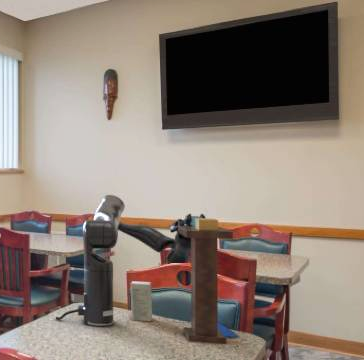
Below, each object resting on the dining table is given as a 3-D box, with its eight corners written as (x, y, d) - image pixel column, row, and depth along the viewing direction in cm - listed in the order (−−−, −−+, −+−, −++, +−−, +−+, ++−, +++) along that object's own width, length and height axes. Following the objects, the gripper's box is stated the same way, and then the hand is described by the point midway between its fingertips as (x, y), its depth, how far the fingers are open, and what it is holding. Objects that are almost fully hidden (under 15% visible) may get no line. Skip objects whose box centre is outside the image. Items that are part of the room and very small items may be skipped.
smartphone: (212, 336, 144) (194, 320, 159) (212, 339, 144) (194, 323, 159) (238, 336, 144) (217, 320, 159) (238, 339, 144) (217, 323, 159)
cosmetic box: (152, 318, 164) (152, 282, 164) (151, 322, 160) (151, 284, 160) (132, 316, 166) (132, 280, 166) (130, 319, 162) (130, 282, 162)
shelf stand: (186, 344, 138) (186, 230, 138) (178, 329, 152) (178, 226, 152) (233, 347, 136) (232, 231, 136) (220, 331, 149) (219, 226, 149)
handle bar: (199, 230, 139) (199, 219, 139) (184, 223, 161) (184, 214, 161) (218, 230, 138) (218, 219, 138) (200, 223, 160) (200, 214, 160)
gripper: (210, 249, 166) (222, 227, 151) (166, 247, 169) (173, 226, 154) (207, 228, 169) (218, 206, 155) (164, 228, 173) (171, 205, 158)
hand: (196, 216), depth 155 cm, fingers closed on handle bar, 3 cm apart
